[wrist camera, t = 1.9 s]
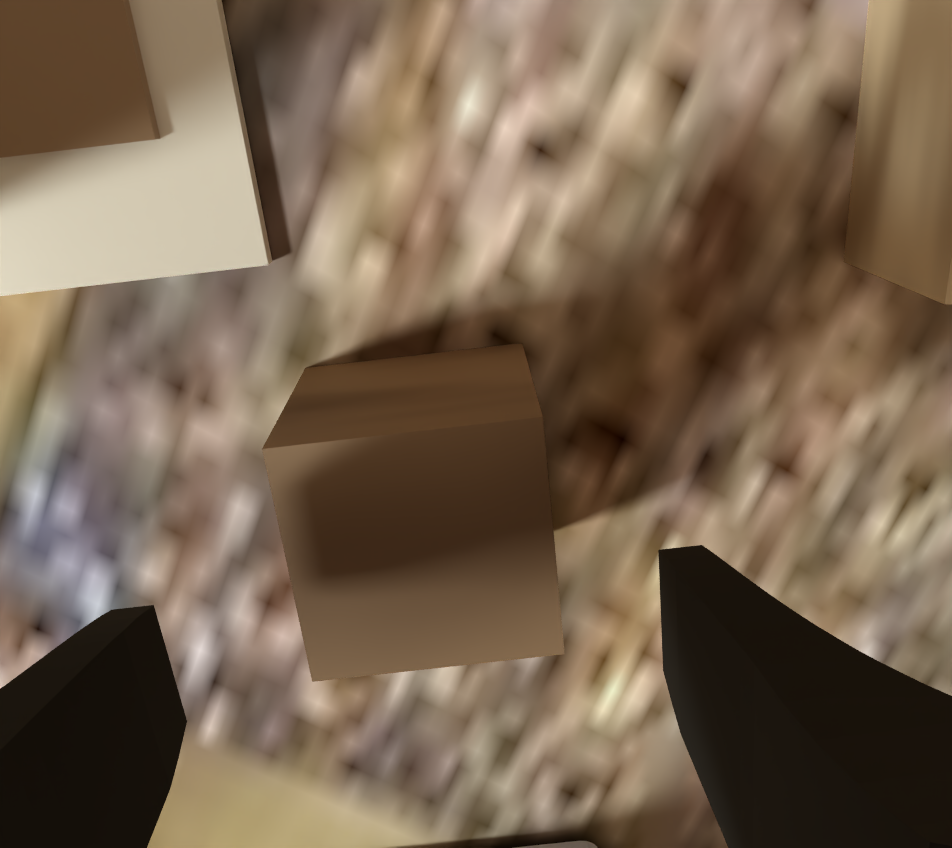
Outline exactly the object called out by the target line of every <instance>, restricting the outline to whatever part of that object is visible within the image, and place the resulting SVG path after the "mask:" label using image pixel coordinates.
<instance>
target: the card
mask: <svg viewBox="0 0 952 848" xmlns="http://www.w3.org/2000/svg"><path fill="white" fill-rule="evenodd" d="M271 262H272V257H271V252H270V247H269V242H268V236H267V231H266V226H265V221H264V216H263V211H262V206H261V200H260V195H259V190H258V185H257V180H256V175H255V170H254V164H253V159H252V154H251V149H250V144H249V139H248V133H247V128H246V123H245V118H244V113H243V108H242V103H241V97H240V92H239V87H238V82H237V77H236V72H235V67H234V61H233V56H232V51H231V46H230V41H229V36H228V31H227V25H226V20H225V15H224V10H223V5H222V0H0V296H5V295H14V294H22V293H31V292H40V291H48V290H57V289H66V288H74V287H83V286H92V285H100V284H109V283H117V282H126V281H135V280H143V279H152V278H161V277H169V276H178V275H187V274H195V273H204V272H213V271H221V270H230V269H238V268H247V267H256V266H264V265H269V264H270V263H271Z"/></svg>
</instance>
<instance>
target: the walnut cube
mask: <svg viewBox="0 0 952 848" xmlns="http://www.w3.org/2000/svg"><path fill="white" fill-rule="evenodd" d="M262 450H263V455H264V460H265V464H266V469H267V474H268V478H269V483H270V487H271V492H272V497H273V501H274V506H275V511H276V515H277V520H278V525H279V529H280V534H281V538H282V543H283V548H284V552H285V557H286V562H287V566H288V571H289V575H290V580H291V585H292V589H293V594H294V599H295V603H296V608H297V613H298V617H299V622H300V626H301V631H302V636H303V640H304V645H305V650H306V654H307V659H308V663H309V668H310V673H311V677H312V682H314V681H323V680H332V679H341V678H350V677H359V676H368V675H378V674H387V673H396V672H405V671H414V670H423V669H432V668H441V667H450V666H459V665H468V664H478V663H487V662H496V661H505V660H514V659H523V658H532V657H541V656H550V655H559V654H564V643H563V632H562V621H561V610H560V599H559V588H558V577H557V566H556V555H555V544H554V533H553V522H552V510H551V499H550V488H549V477H548V466H547V455H546V444H545V433H544V422H543V415H542V411H541V408H540V404H539V401H538V397H537V394H536V390H535V387H534V383H533V380H532V376H531V373H530V369H529V366H528V362H527V359H526V355H525V352H524V348H523V345H522V343H517V344H508V345H500V346H491V347H482V348H474V349H465V350H456V351H448V352H439V353H430V354H422V355H413V356H404V357H396V358H387V359H378V360H370V361H361V362H352V363H343V364H335V365H326V366H317V367H309V368H305V370H304V372H303V374H302V376H301V377H300V379H299V381H298V383H297V385H296V387H295V389H294V391H293V392H292V394H291V396H290V398H289V400H288V402H287V404H286V405H285V407H284V409H283V411H282V413H281V415H280V417H279V419H278V420H277V422H276V424H275V426H274V428H273V430H272V432H271V433H270V435H269V437H268V439H267V441H266V443H265V445H264V447H263V448H262Z"/></svg>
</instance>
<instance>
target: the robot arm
mask: <svg viewBox="0 0 952 848" xmlns="http://www.w3.org/2000/svg"><path fill="white" fill-rule="evenodd" d="M659 574H660V599H661V625H662V651H663V671H664V675H665V679H666V682H667V686H668V690H669V693H670V697H671V701H672V705H673V708H674V712H675V715H676V719H677V722H678V726H679V729H680V733H681V735H682V738H683V740H684V742H685V745H686V747H687V750H688V752H689V755H690V757H691V759H692V762H693V764H694V767H695V769H696V772H697V774H698V776H699V779H700V781H701V784H702V786H703V788H704V791H705V793H706V795H707V798H708V800H709V802H710V805H711V807H712V810H713V812H714V814H715V817H716V819H717V821H718V824H719V826H720V828H721V831H722V833H723V836H724V838H725V840H726V843H727V845H728V847H729V848H952V696H950V695H948V694H946V693H943V692H941V691H939V690H937V689H934V688H932V687H930V686H928V685H925V684H923V683H921V682H919V681H917V680H915V679H913V678H911V677H909V676H907V675H905V674H903V673H901V672H899V671H897V670H895V669H893V668H891V667H889V666H887V665H885V664H883V663H881V662H879V661H877V660H875V659H873V658H871V657H869V656H867V655H865V654H864V653H862V652H860V651H858V650H856V649H855V648H853V647H851V646H849V645H848V644H846V643H844V642H843V641H841V640H839V639H838V638H836V637H834V636H833V635H831V634H829V633H828V632H826V631H824V630H823V629H821V628H819V627H818V626H816V625H815V624H813V623H811V622H810V621H808V620H807V619H805V618H804V617H802V616H801V615H799V614H797V613H796V612H794V611H793V610H792V609H790V608H789V607H787V606H786V605H784V604H783V603H781V602H780V601H778V600H777V599H775V598H774V597H773V596H771V595H770V594H768V593H767V592H765V591H764V590H763V589H761V588H760V587H758V586H757V585H756V584H754V583H753V582H752V581H750V580H749V579H748V578H746V577H745V576H743V575H742V574H741V573H739V572H738V571H737V570H735V569H734V568H733V567H731V566H730V565H729V564H727V563H726V562H725V561H723V560H722V559H721V558H719V557H718V556H717V555H715V554H714V553H712V552H711V551H710V550H708V549H707V548H705V547H704V546H702V545H699V546H690V547H681V548H672V549H663V550H659ZM186 723H187V720H186V716H185V713H184V709H183V706H182V703H181V699H180V696H179V692H178V689H177V685H176V682H175V678H174V675H173V671H172V668H171V664H170V661H169V657H168V654H167V650H166V647H165V643H164V640H163V636H162V633H161V629H160V626H159V622H158V619H157V615H156V612H155V608H154V605H151V606H142V607H133V608H124V609H115V610H111V611H109V612H107V613H105V614H104V615H102V616H100V617H99V618H97V619H96V620H94V621H93V622H91V623H90V624H88V625H87V626H85V627H84V628H83V629H81V630H80V631H78V632H77V633H76V634H74V635H73V636H71V637H70V638H69V639H67V640H66V641H65V642H63V643H62V644H60V645H59V646H58V647H56V648H55V649H54V650H52V651H51V652H50V653H48V654H47V655H46V656H44V657H43V658H42V659H40V660H39V661H38V662H36V663H35V664H33V665H32V666H31V667H29V668H28V669H27V670H25V671H24V672H23V673H21V674H20V675H19V676H17V677H16V678H14V679H13V680H12V681H10V682H9V683H8V684H6V685H5V686H4V687H2V688H1V689H0V848H147V846H148V843H149V841H150V838H151V836H152V833H153V831H154V828H155V826H156V823H157V821H158V818H159V816H160V813H161V811H162V808H163V806H164V803H165V800H166V798H167V795H168V793H169V790H170V787H171V784H172V780H173V776H174V773H175V769H176V765H177V761H178V758H179V753H180V749H181V745H182V740H183V736H184V732H185V727H186ZM514 848H598V847H597V846H596V845H595V844H593V843H591V842H588V841H572V842H562V843H553V844H543V845H534V846H524V847H514Z"/></svg>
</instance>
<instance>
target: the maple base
mask: <svg viewBox="0 0 952 848" xmlns="http://www.w3.org/2000/svg"><path fill="white" fill-rule="evenodd" d="M844 262H845V263H848V264H850V265H852V266H855V267H857V268H859V269H862V270H864V271H866V272H869V273H871V274H874V275H876V276H878V277H881V278H883V279H885V280H888V281H890V282H893V283H895V284H897V285H900V286H902V287H904V288H907V289H909V290H911V291H914V292H916V293H919V294H921V295H923V296H926V297H928V298H930V299H933V300H935V301H938V302H940V303H942V304H945V305H946V304H952V0H869V4H868V15H867V25H866V36H865V46H864V56H863V67H862V77H861V87H860V98H859V108H858V118H857V129H856V139H855V150H854V160H853V170H852V181H851V191H850V201H849V212H848V222H847V232H846V243H845V253H844Z"/></svg>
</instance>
